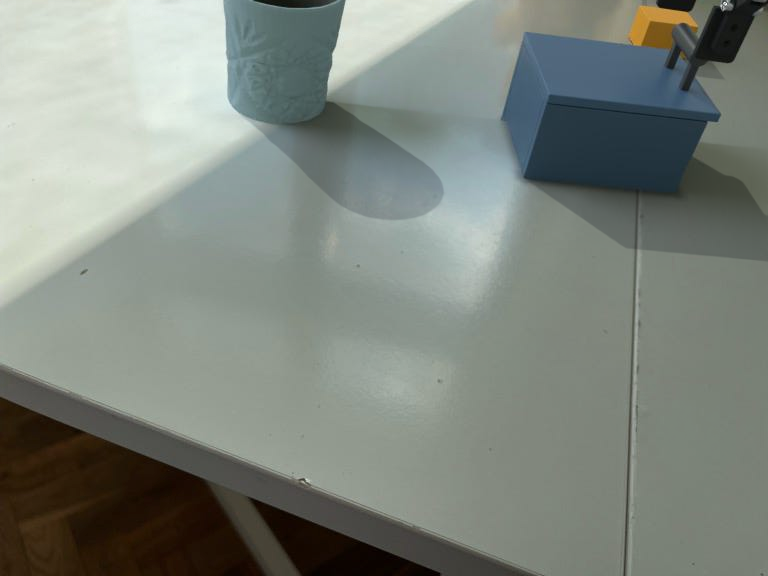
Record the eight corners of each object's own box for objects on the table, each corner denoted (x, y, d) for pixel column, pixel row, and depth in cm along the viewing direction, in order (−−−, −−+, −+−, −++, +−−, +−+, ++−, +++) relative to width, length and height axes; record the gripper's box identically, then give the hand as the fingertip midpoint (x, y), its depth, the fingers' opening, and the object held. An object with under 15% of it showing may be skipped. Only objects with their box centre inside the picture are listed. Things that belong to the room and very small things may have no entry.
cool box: (633, 136, 78) (665, 57, 72) (669, 205, 69) (708, 122, 63) (500, 121, 76) (522, 40, 70) (519, 190, 67) (546, 104, 62)
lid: (673, 58, 72) (693, 9, 69) (717, 122, 63) (742, 70, 60) (522, 39, 70) (535, -12, 67) (546, 103, 62) (563, 48, 59)
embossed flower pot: (254, 74, 76) (258, -53, 68) (350, 104, 74) (366, -22, 66) (200, 119, 68) (197, -17, 61) (305, 154, 67) (317, 18, 59)
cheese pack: (674, 42, 97) (686, 11, 94) (685, 59, 94) (699, 27, 91) (627, 36, 96) (639, 5, 94) (637, 53, 93) (650, 20, 90)
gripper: (913, -169, 47) (776, 89, 58) (792, -222, 60) (698, -2, 71) (798, -190, 46) (681, 76, 57) (700, -239, 59) (620, -14, 70)
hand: (691, 32), depth 64 cm, fingers open, 9 cm apart
